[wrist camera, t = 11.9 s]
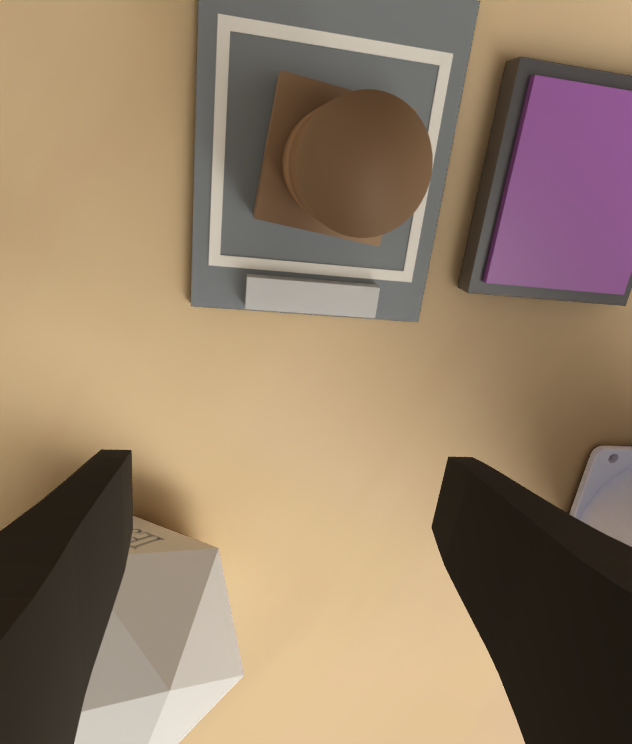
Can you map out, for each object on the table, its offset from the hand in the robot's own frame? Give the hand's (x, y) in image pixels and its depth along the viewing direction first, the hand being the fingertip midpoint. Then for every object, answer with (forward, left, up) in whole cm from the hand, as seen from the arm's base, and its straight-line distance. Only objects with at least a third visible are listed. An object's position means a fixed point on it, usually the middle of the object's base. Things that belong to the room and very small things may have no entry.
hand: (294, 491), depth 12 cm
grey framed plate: (-2, -7, -10) cm, 12 cm away
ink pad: (-11, -7, -10) cm, 16 cm away
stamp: (-2, -7, -10) cm, 12 cm away
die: (+5, +11, -10) cm, 16 cm away
